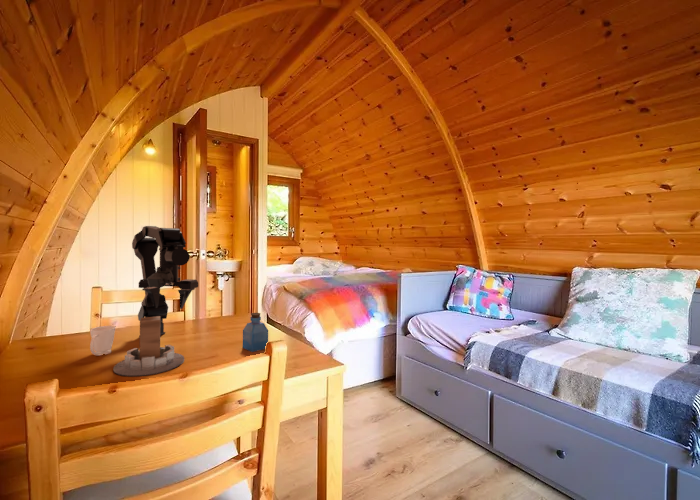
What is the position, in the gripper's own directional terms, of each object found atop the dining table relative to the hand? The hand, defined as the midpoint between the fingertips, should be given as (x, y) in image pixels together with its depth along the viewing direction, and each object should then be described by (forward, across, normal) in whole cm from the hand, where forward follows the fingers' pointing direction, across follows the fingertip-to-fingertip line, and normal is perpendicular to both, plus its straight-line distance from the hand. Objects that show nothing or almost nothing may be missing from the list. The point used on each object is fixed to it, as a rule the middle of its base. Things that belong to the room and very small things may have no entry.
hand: (168, 308), depth 117 cm
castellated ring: (+13, +6, -18) cm, 23 cm away
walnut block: (+12, +6, -18) cm, 23 cm away
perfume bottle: (+13, +31, +1) cm, 34 cm away
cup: (+13, -15, -12) cm, 23 cm away
